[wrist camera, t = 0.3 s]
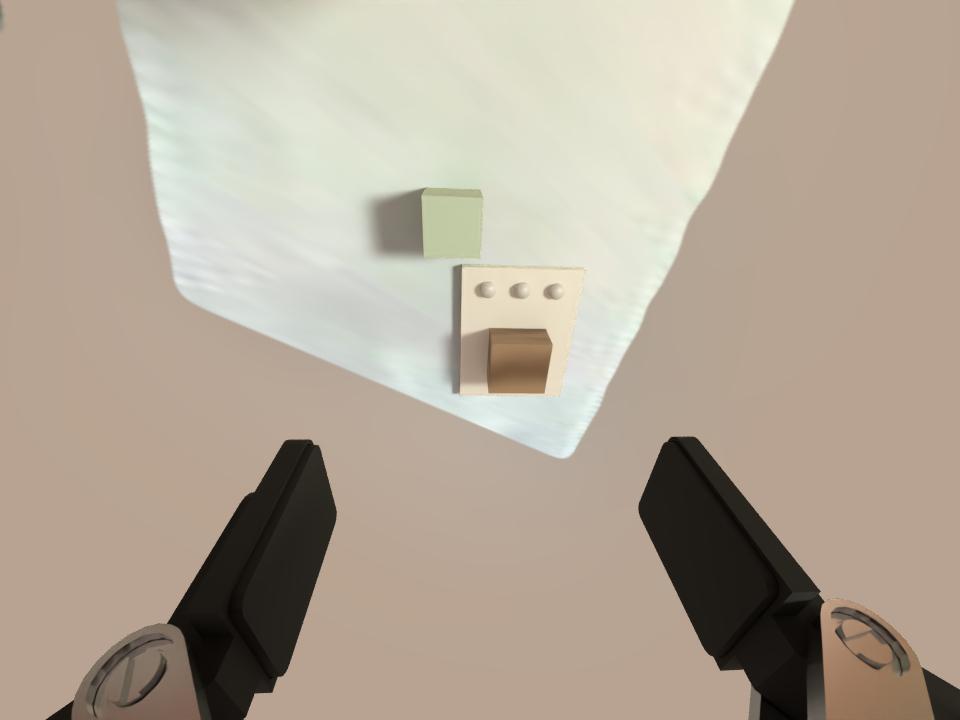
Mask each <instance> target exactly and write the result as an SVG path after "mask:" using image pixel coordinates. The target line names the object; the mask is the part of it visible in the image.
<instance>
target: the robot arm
mask: <svg viewBox="0 0 960 720" xmlns="http://www.w3.org/2000/svg"><path fill="white" fill-rule="evenodd" d="M638 508H639V515H640V517H641V519H642V522H643V524H644V526H645V528H646V530H647V532H648V534H649V536H650V538H651V540H652V542H653V544H654V546H655V548H656V551H657V553H658V555H659V557H660V559H661V561H662V563H663V565H664V567H665V569H666V571H667V573H668V575H669V577H670V579H671V581H672V583H673V586H674V587H675V590H676V592H677V594H678V596H679V598H680V600H681V602H682V604H683V606H684V609H685V611H686V613H687V615H688V617H689V619H690V621H691V623H692V625H693V627H694V629H695V631H696V633H697V635H698V637H699V640H700V642H701V644H702V646H703V647H704V649H705V651H706V652H707V653H708V654H709V655H710V656H713V657H714V659H715V661H716V663H717V665H718V667H719V669H720V670H721V671H722V670H742V669H744V671H745V673H746V675H747V677H748V679H749V681H750V682H751V695H750V707H749V720H960V690H959V689H958V688H956V687H954V686H953V685H951V684H949V683H948V682H946V681H944V680H942V679H941V678H939V677H937V676H936V675H934V674H932V673H931V672H929V671H927V670H925V669H924V668H922V667H921V665H920V663H919V661H918V658H917V656H916V654H915V653H914V651H913V650H912V648H911V647H910V646H909V644H908V643H907V642H906V640H905V639H904V638H903V637H902V636H901V635H900V634H899V633H898V632H897V631H896V630H895V629H894V628H893V627H892V626H891V625H890V624H888V623H887V622H886V621H885V620H883V619H882V618H881V617H879V616H878V615H876V614H875V613H873V612H872V611H870V610H868V609H867V608H865V607H863V606H861V605H859V604H856V603H854V602H851V601H848V600H843V599H838V598H836V599H829V600H827V601H826V602H824V600H823V599H822V598H821V597H820V595H819V593H820V592H821V591H820V590H819V589H818V588H817V586H816V585H815V584H814V583H813V581H812V580H811V579H810V578H809V576H808V575H807V574H806V573H805V571H804V570H803V569H802V568H801V567H800V565H799V564H798V563H797V562H796V560H795V559H794V558H793V557H792V555H791V554H790V553H789V552H788V550H787V549H786V548H785V547H784V546H783V544H782V543H781V542H780V541H779V539H778V538H777V537H776V535H775V534H774V533H773V532H772V531H771V529H770V528H769V527H768V526H767V524H766V523H765V522H764V521H763V519H762V518H761V517H760V516H759V514H758V513H757V512H756V511H755V509H754V508H753V507H752V506H751V504H750V503H749V502H748V501H747V500H746V498H745V497H744V496H743V495H742V493H741V492H740V491H739V490H738V488H737V487H736V486H735V485H734V483H733V482H732V481H731V480H730V478H729V477H728V476H727V475H726V473H725V472H724V471H723V470H722V468H721V467H720V466H719V465H718V463H717V462H716V461H715V460H714V459H713V457H712V456H711V455H710V454H709V452H708V451H707V450H706V449H705V447H704V446H703V445H702V444H701V442H700V441H699V440H698V439H697V438H695V437H671V438H670V439H669V440H668V442H665V443H664V444H663V446H662V448H661V451H660V453H659V455H658V458H657V460H656V463H655V465H654V468H653V470H652V473H651V475H650V478H649V480H648V483H647V485H646V487H645V490H644V492H643V495H642V497H641V500H640V502H639V507H638ZM336 513H337V511H336V506H335V503H334V499H333V495H332V491H331V488H330V484H329V480H328V477H327V472H326V469H325V465H324V461H323V457H322V454H321V450H320V447H319V446H318V445H314V444H313V442H312V441H311V440H286V441H285V442H284V443H283V445H282V447H281V448H280V450H279V452H278V453H277V455H276V457H275V458H274V460H273V462H272V464H271V465H270V467H269V469H268V470H267V472H266V474H265V475H264V477H263V479H262V481H261V483H260V484H259V486H258V487H257V489H256V491H255V492H253V493H250V494H248V495H247V496H245V498H244V499H243V500H242V502H241V503H240V505H239V506H238V508H237V509H236V511H235V513H234V514H233V516H232V518H231V519H230V521H229V523H228V524H227V526H226V528H225V529H224V531H223V532H222V534H221V536H220V537H219V539H218V541H217V542H216V544H215V546H214V547H213V549H212V551H211V552H210V554H209V556H208V557H207V559H206V560H205V562H204V564H203V565H202V567H201V569H200V570H199V572H198V574H197V575H196V577H195V579H194V580H193V582H192V583H191V585H190V587H189V588H188V590H187V592H186V593H185V595H184V597H183V598H182V600H181V602H180V603H179V605H178V607H177V608H176V610H175V611H174V613H173V615H172V617H171V618H170V620H169V621H168V623H167V624H160V623H159V624H155V625H151V626H147V627H144V628H142V629H140V630H138V631H136V632H134V633H132V634H130V635H128V636H127V637H125V638H124V639H122V640H121V641H119V642H118V643H117V644H115V645H114V646H112V647H111V648H110V649H109V650H108V651H107V652H106V653H105V654H104V655H103V656H102V657H101V658H100V659H99V660H98V661H97V662H96V663H95V664H94V666H93V667H92V668H91V670H90V671H89V672H88V673H87V675H86V676H85V677H84V679H83V681H82V683H81V685H80V687H79V689H78V691H77V693H76V695H75V698H74V700H73V701H72V702H70V703H69V704H68V705H66V706H65V707H63V708H62V709H61V710H59V711H57V712H56V713H55V714H53V715H52V716H50V717H49V718H47V719H46V720H244V718H245V717H246V716H247V713H248V710H249V707H250V705H251V702H252V699H253V697H254V694H255V693H272V692H273V689H274V686H275V683H276V680H277V677H281V676H283V675H284V674H285V673H286V671H287V669H288V666H289V664H290V660H291V658H292V655H293V651H294V649H295V645H296V642H297V639H298V636H299V633H300V630H301V627H302V624H303V621H304V618H305V615H306V612H307V608H308V606H309V602H310V599H311V596H312V593H313V590H314V587H315V584H316V581H317V578H318V575H319V572H320V569H321V566H322V563H323V560H324V556H325V553H326V550H327V547H328V544H329V541H330V538H331V535H332V532H333V529H334V526H335V522H336V515H337V514H336Z"/></svg>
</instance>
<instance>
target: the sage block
mask: <svg viewBox="0 0 960 720" xmlns="http://www.w3.org/2000/svg"><path fill="white" fill-rule="evenodd" d="M421 199H422V224H423V249H424V257H430V258H464V259H481V237H482V214H483V196H482V193H481V190H473V189H449V188H426V189H425V190H424V192H423V194H422V195H421Z"/></svg>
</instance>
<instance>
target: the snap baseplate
mask: <svg viewBox="0 0 960 720" xmlns="http://www.w3.org/2000/svg"><path fill="white" fill-rule="evenodd" d="M584 275H585V269H584V268H579V267H543V266H507V265H471V264H462V292H461V353H460V396H560V394H561V389H562V384H563V379H564V374H565V369H566V364H567V359H568V354H569V349H570V344H571V339H572V334H573V329H574V324H575V320H576V315H577V310H578V305H579V300H580V295H581V290H582V285H583V280H584ZM490 328H525V329H546V330H547V333H548V335H549V337H550V339H551V342H552V344H553V347H552V353H551V359H550V364H549V370H548V376H547V382H546V388H545V393H544V394H529V393H489V392H488V383H487V360H488V345H489V329H490Z"/></svg>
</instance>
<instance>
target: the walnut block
mask: <svg viewBox="0 0 960 720" xmlns="http://www.w3.org/2000/svg"><path fill="white" fill-rule="evenodd" d="M552 347H553V344H552V342H551V339H550V337H549V335H548V333H547V330H546V329H525V328H490V329H489V345H488V360H487V383H488V392H489V393H529V394H544V393H545V388H546V382H547V376H548V370H549V364H550V359H551V353H552Z"/></svg>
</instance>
